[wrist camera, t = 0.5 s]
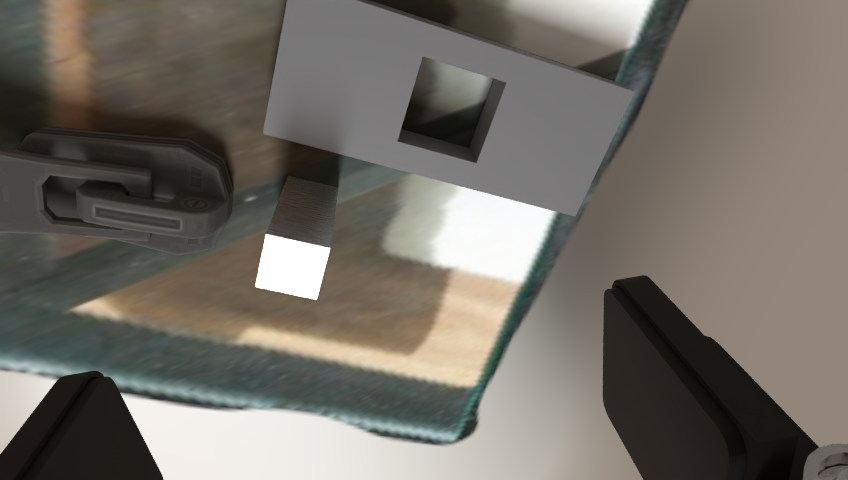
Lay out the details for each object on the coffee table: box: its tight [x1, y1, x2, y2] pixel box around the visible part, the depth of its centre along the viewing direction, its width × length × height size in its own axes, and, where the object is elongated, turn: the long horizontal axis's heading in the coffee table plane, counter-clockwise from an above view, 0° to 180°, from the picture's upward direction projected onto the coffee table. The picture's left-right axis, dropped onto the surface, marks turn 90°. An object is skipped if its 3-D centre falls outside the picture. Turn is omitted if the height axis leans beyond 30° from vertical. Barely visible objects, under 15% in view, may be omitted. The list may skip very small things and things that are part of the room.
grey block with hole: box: [263, 0, 635, 216], centre depth 39 cm, size 10×24×4 cm, turn 73°
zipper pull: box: [0, 127, 233, 255], centre depth 38 cm, size 9×7×25 cm
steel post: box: [255, 175, 338, 299], centre depth 39 cm, size 4×4×10 cm
